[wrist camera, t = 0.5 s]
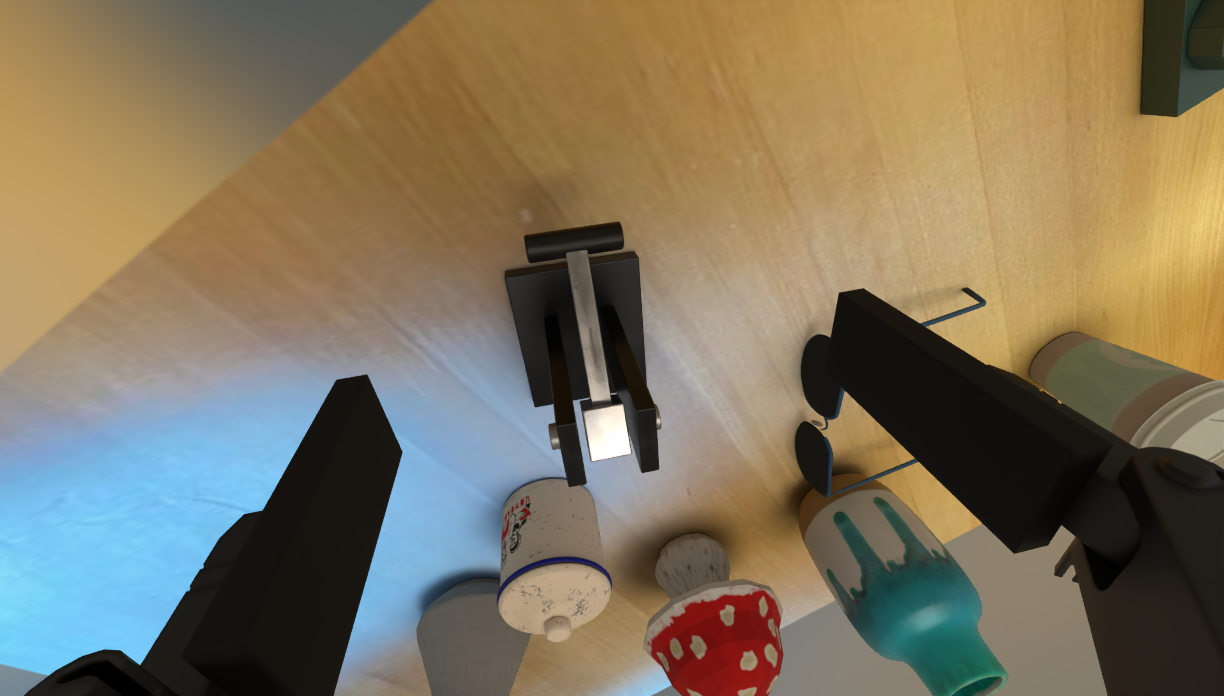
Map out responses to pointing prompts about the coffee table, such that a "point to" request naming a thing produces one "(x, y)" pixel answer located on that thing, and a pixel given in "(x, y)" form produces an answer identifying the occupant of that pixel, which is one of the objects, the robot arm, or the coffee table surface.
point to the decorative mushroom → (713, 624)
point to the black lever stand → (558, 354)
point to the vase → (899, 586)
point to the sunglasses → (833, 410)
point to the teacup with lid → (551, 560)
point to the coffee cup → (1134, 394)
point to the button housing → (1181, 54)
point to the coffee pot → (470, 642)
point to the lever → (589, 329)
